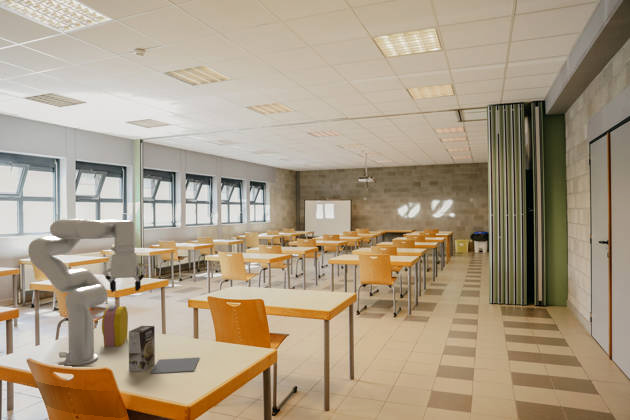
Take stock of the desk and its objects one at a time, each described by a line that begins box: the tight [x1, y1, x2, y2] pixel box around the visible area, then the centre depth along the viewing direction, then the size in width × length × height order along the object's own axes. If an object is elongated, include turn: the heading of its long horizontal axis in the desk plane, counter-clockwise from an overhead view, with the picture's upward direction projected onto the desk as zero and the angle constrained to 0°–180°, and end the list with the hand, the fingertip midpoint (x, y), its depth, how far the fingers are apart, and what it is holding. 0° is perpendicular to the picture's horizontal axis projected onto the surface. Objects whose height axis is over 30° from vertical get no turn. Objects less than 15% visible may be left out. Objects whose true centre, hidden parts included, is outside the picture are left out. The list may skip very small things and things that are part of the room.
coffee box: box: [128, 325, 156, 373], centre depth 173 cm, size 9×6×16 cm
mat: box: [149, 357, 200, 375], centre depth 174 cm, size 17×15×1 cm
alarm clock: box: [101, 304, 129, 348], centre depth 206 cm, size 15×8×18 cm, turn 10°
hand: (125, 290), depth 174 cm, fingers open, 9 cm apart
